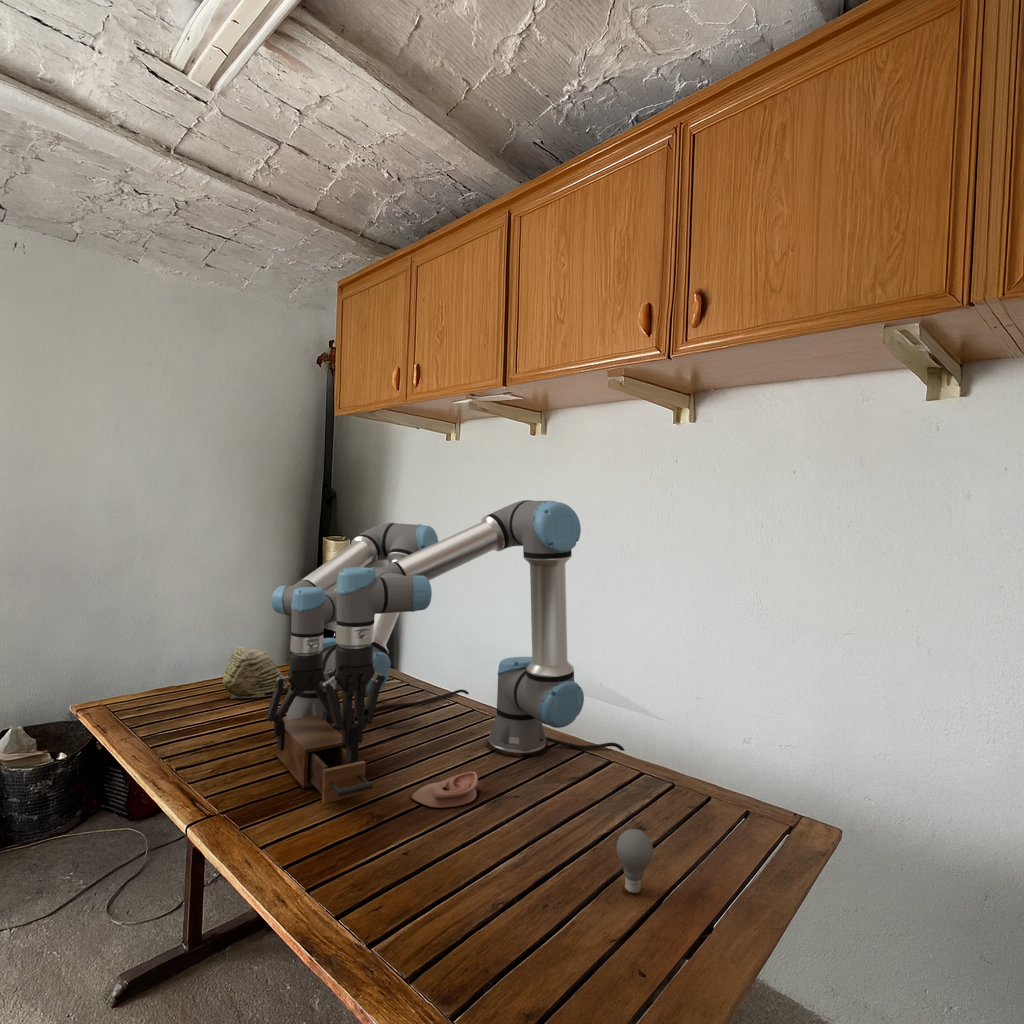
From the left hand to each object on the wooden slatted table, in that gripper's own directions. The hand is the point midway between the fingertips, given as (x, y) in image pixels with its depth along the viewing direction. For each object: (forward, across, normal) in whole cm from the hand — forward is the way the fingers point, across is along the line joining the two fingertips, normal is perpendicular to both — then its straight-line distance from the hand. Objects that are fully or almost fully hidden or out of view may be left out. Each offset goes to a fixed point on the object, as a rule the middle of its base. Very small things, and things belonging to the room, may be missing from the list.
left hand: (303, 744), depth 153 cm
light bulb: (+4, +30, -80) cm, 85 cm away
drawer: (+2, 0, -20) cm, 20 cm away
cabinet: (+3, 0, -6) cm, 7 cm away
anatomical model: (+4, +20, -34) cm, 40 cm away
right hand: (-7, 0, -30) cm, 30 cm away
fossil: (+3, +2, +54) cm, 55 cm away
